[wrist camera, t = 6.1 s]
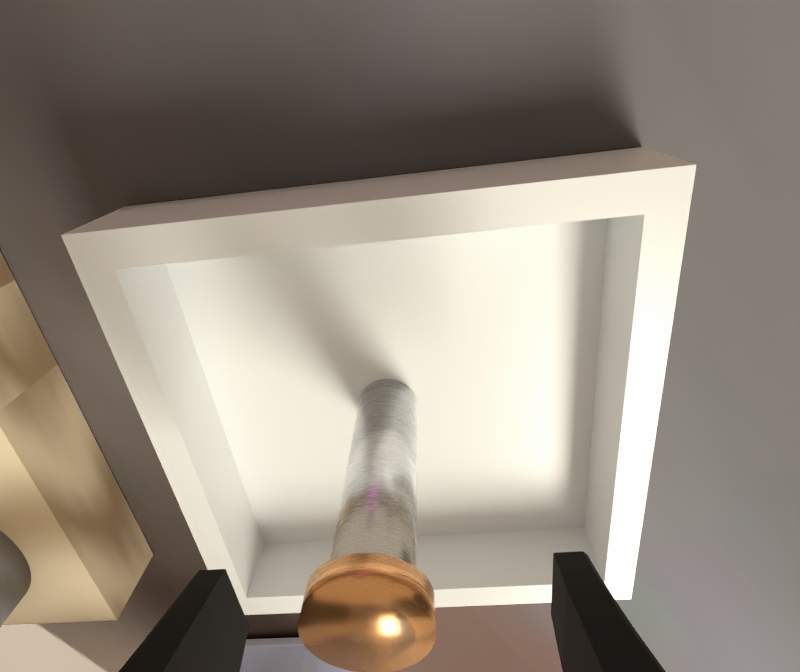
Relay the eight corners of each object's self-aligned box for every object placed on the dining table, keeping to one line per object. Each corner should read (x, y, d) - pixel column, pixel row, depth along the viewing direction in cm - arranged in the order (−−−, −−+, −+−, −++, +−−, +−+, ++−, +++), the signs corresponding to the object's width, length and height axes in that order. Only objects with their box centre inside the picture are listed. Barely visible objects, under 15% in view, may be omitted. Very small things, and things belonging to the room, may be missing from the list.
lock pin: (432, 432, 18) (441, 670, 11) (355, 438, 18) (313, 675, 11) (424, 364, 16) (428, 584, 9) (340, 372, 17) (283, 592, 10)
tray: (603, 531, 21) (631, 599, 18) (251, 549, 22) (227, 615, 19) (642, 146, 14) (696, 164, 11) (124, 206, 15) (60, 235, 12)
